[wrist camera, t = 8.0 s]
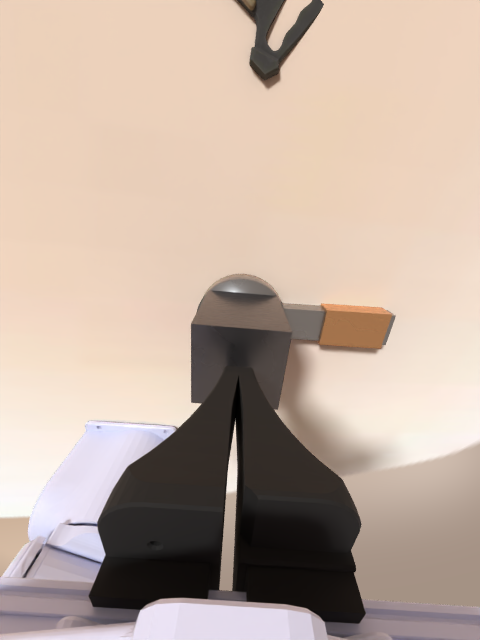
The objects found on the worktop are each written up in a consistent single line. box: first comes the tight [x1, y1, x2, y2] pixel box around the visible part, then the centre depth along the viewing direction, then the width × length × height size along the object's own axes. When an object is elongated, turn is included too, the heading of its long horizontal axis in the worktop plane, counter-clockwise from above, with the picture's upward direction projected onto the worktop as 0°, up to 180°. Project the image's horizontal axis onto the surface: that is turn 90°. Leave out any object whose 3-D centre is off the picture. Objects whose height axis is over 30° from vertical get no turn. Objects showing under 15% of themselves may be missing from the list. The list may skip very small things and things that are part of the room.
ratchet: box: [197, 274, 396, 349], centre depth 18 cm, size 16×7×5 cm, turn 86°
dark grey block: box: [191, 290, 292, 409], centre depth 16 cm, size 5×5×6 cm
